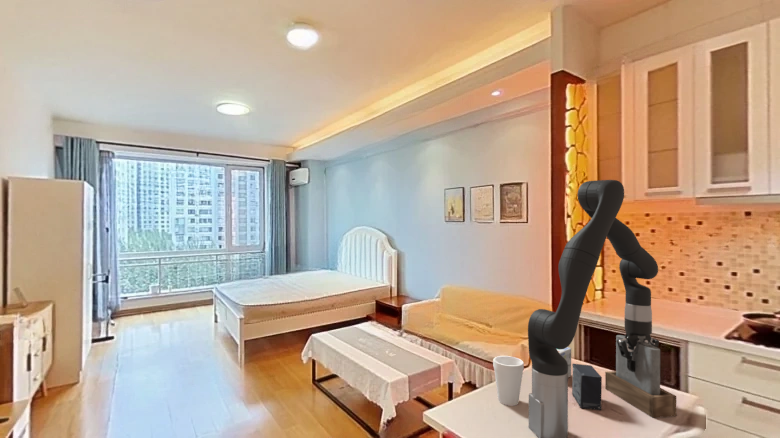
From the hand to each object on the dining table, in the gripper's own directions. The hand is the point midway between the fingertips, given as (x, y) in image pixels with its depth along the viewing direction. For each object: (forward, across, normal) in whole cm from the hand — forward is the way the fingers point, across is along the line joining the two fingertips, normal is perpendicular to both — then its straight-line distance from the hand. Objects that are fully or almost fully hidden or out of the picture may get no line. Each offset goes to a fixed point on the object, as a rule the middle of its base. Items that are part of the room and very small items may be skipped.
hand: (637, 370), depth 124 cm
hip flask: (+8, 0, 0) cm, 8 cm away
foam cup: (+11, -42, +6) cm, 44 cm away
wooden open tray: (+10, 0, 0) cm, 10 cm away
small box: (+10, -17, +2) cm, 20 cm away
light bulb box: (+10, -15, +22) cm, 29 cm away
